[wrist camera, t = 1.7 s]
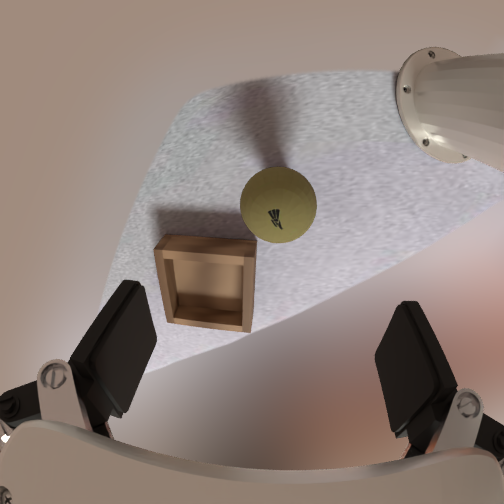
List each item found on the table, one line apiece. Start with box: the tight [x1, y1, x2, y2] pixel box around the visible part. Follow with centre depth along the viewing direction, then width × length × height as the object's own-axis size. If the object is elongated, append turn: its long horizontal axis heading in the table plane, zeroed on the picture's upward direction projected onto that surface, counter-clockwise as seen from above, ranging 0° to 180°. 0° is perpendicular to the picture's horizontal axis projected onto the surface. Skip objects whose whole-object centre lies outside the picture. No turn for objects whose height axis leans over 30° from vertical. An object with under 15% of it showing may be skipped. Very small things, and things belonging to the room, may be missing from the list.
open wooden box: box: [153, 234, 257, 333], centre depth 31 cm, size 10×10×4 cm
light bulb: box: [240, 167, 317, 243], centre depth 22 cm, size 6×6×10 cm
